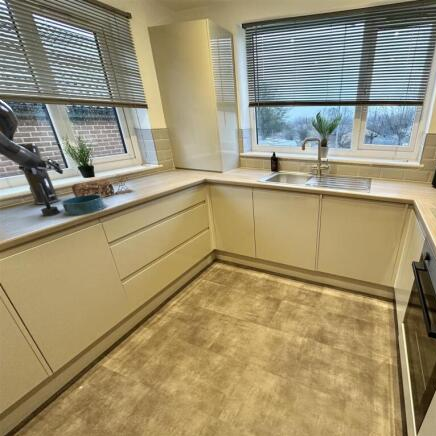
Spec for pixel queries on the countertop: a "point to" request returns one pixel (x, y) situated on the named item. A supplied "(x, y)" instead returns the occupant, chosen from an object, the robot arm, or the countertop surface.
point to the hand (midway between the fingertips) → (53, 174)
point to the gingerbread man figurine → (121, 185)
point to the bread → (93, 188)
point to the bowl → (83, 204)
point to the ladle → (47, 203)
